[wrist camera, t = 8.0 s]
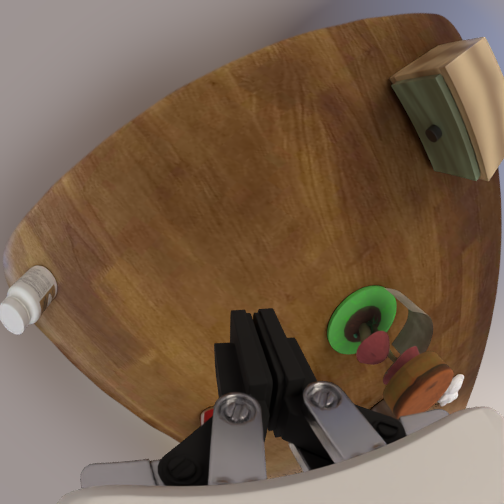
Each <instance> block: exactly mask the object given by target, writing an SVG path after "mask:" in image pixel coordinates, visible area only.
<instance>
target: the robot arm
mask: <svg viewBox="0 0 504 504" xmlns="http://www.w3.org/2000/svg"><path fill="white" fill-rule="evenodd" d="M214 351H215V369H216V378H217V386H218V394H219V398H218V400H217V401H216V402H215V405H214V408H213V416H212V417H211V418H209V419H208V420H207V421H206V422H205V423H204V424H203V425H201V426H200V427H199V428H198V429H197V430H195V431H194V432H193V433H192V434H191V435H190V436H188V437H187V438H186V439H185V440H183V441H182V442H181V443H180V444H179V445H177V446H176V447H175V448H174V449H172V450H171V451H170V452H168V453H167V454H166V455H165V456H164V457H163V458H162V459H160V460H153V461H149V459H143V460H135V461H125V462H113V463H95V464H90V465H88V466H87V467H85V468H84V469H83V471H82V472H81V479H80V480H81V488H82V489H78V490H76V491H72V492H70V493H68V494H65V495H64V496H63V497H62V498H61V499H60V500H59V501H58V503H57V504H504V417H503V416H502V415H501V414H500V413H498V412H497V411H496V410H494V409H492V408H490V407H474V408H467V409H463V410H460V411H457V412H455V413H452V414H449V413H448V412H446V411H445V410H442V409H434V410H430V411H425V412H421V413H416V414H411V415H405V416H400V417H399V418H398V419H395V418H393V417H391V416H387V415H384V414H381V413H378V412H375V411H372V410H369V409H366V408H363V407H360V406H358V405H355V404H354V403H353V402H352V401H351V400H350V399H349V397H348V396H347V395H346V394H345V392H344V391H343V390H342V389H341V388H340V387H339V386H338V385H336V384H334V383H332V382H328V381H317V380H316V378H315V376H314V374H313V372H312V370H311V368H310V366H309V364H308V362H307V360H306V358H305V356H304V354H303V352H302V350H301V349H300V347H299V345H298V343H297V341H296V339H295V338H287V337H286V335H285V333H284V331H283V329H282V327H281V325H280V322H279V320H278V318H277V316H276V314H275V312H274V310H273V309H272V308H269V309H259V310H258V313H254V315H253V319H252V316H251V314H250V313H246V311H245V310H232V311H231V320H230V343H215V344H214ZM267 428H268V430H269V431H272V430H273V432H274V435H275V437H282V439H283V440H285V441H288V442H289V443H288V444H289V447H290V449H291V451H292V453H293V454H294V456H295V458H296V460H297V461H298V463H299V465H300V467H301V468H302V470H303V472H302V473H297V474H293V475H288V476H283V477H277V478H272V479H267V475H266V463H265V450H264V442H265V437H266V432H267Z"/></svg>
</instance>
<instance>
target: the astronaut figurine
mask: <svg viewBox="0 0 504 504" xmlns="http://www.w3.org/2000/svg"><path fill="white" fill-rule="evenodd" d="M463 380H464V375H462V374H458V375H456V376H455V377H454V378H453V379H452V382H451V384H450V385H449V387H448V389H447V390H446V392H445V393H444V394H443V395H442V397H441V398H440V399H439V400H438V401H437V402H438V403H440V406H444V405H446V403H450V402H452V401H453V400H454V399H456V398H457V396H458V390H459V389H460V388H461V385H462V382H463Z"/></svg>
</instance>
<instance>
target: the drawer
mask: <svg viewBox="0 0 504 504" xmlns="http://www.w3.org/2000/svg"><path fill="white" fill-rule="evenodd" d="M391 86H392V88H393V90H394V91H395V93H396V95H397V96H398V98H399V100H400V102H401V103H402V105H403V107H404V109H405V110H406V112H407V114H408V116H409V118H410V120H411V122H412V124H413V125H414V127H415V129H416V131H417V133H418V135H419V138H420V140H421V142H422V144H423V146H424V148H425V150H426V153H427V155H428V157H429V160H430V162H431V164H432V167H433V169H434V171H438V172H442V173H447V174H451V175H455V176H459V177H463V178H467V179H471V180H474V181H477V179H478V178H479V177H480V175H481V174H480V171H479V167H478V164H477V158H476V155H475V152H474V148H473V145H472V143H471V140H470V137H469V134H468V131H467V129H466V126H465V123H464V121H463V118H462V116H461V114H460V111H459V109H458V107H457V104H456V102H455V100H454V98H453V95H452V93H451V91H450V89H449V87H448V85H447V83H446V81H445V79H444V77H443V76H442V75H441V74H436V75H429V76H423V77H417V78H412V79H406V80H401V81H397V82H395V83H394V84H392V85H391Z"/></svg>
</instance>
